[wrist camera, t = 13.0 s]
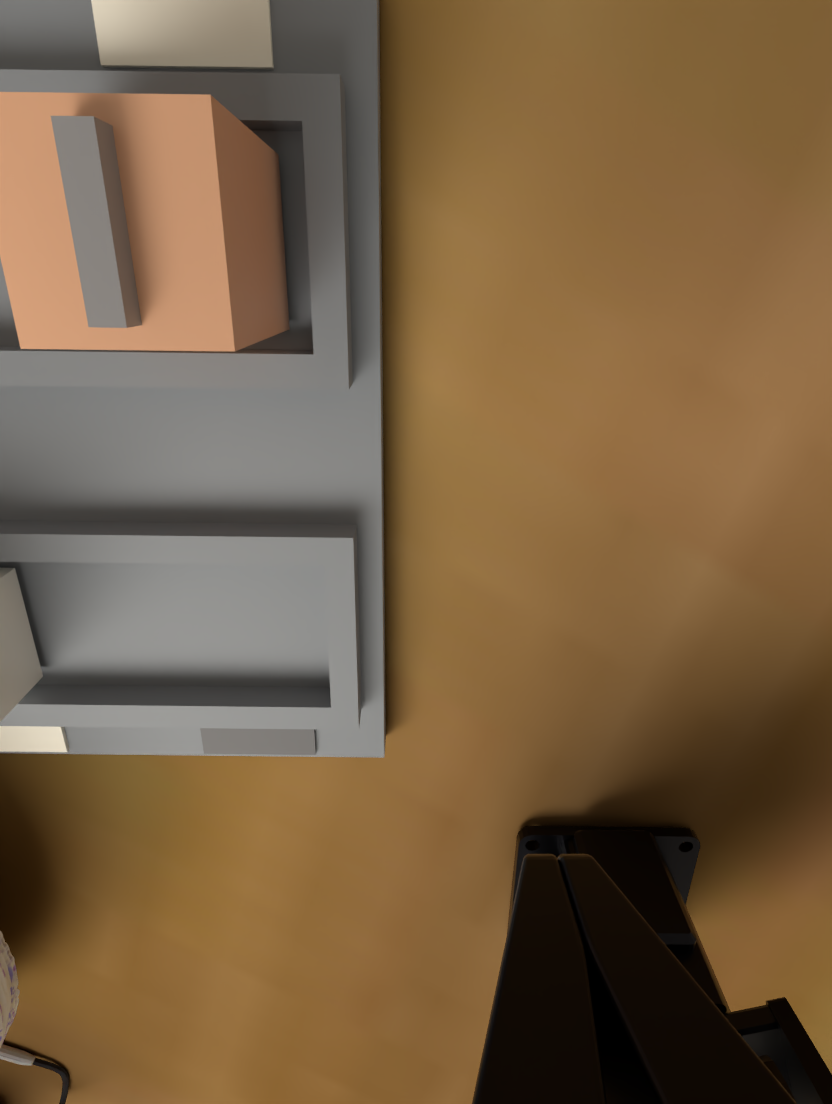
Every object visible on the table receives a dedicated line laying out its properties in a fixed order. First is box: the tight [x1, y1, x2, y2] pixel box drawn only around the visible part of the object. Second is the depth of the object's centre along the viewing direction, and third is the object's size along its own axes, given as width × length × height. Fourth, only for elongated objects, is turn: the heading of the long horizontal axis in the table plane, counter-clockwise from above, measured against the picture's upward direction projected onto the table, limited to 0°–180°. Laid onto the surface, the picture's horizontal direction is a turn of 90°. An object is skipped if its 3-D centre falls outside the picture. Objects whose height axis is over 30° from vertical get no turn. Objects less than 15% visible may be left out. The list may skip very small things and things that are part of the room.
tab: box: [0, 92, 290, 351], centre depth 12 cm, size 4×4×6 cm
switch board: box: [0, 0, 386, 757], centre depth 17 cm, size 20×16×2 cm
